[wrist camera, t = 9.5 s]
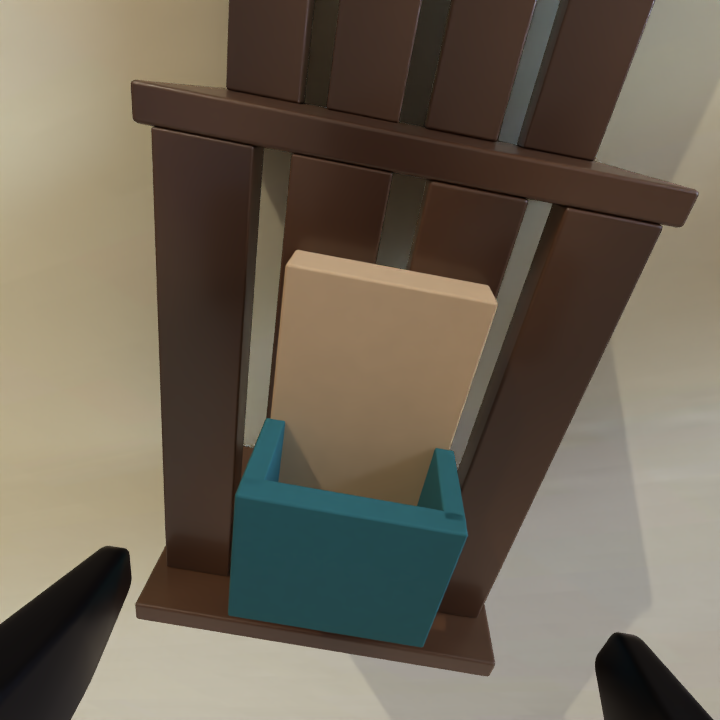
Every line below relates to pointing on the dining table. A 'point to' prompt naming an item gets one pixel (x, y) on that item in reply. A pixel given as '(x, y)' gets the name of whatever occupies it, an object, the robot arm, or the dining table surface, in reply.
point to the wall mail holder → (359, 452)
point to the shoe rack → (361, 243)
